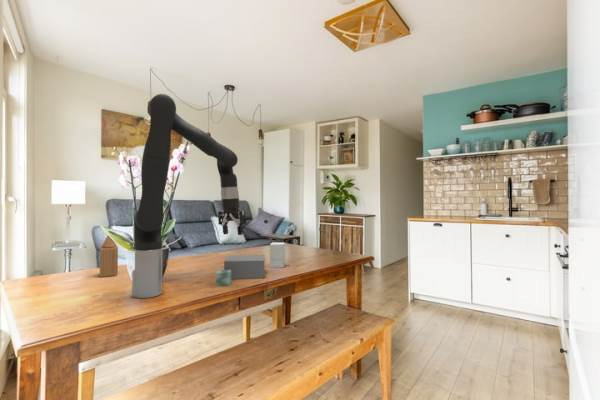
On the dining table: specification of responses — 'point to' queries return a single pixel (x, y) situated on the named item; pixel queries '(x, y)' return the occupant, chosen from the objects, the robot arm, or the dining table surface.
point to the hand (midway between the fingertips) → (233, 234)
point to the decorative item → (108, 258)
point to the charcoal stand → (245, 266)
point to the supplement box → (277, 255)
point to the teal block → (223, 278)
